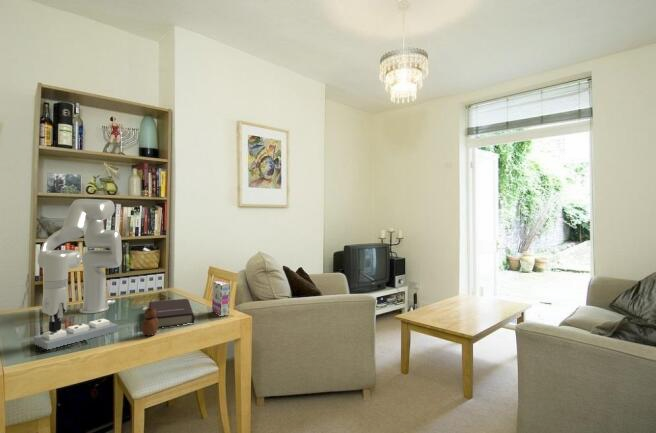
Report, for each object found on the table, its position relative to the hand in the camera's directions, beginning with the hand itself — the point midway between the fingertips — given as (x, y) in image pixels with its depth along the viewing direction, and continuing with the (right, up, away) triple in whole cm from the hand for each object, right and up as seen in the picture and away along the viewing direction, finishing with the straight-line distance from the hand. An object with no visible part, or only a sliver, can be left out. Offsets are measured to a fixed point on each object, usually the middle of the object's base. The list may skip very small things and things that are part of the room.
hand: (54, 330), depth 131 cm
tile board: (+4, -5, +7) cm, 10 cm away
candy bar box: (+51, -6, +44) cm, 68 cm away
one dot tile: (+8, -4, +14) cm, 17 cm away
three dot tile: (0, -4, 0) cm, 4 cm away
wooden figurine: (+31, -6, +12) cm, 34 cm away
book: (+29, -6, +35) cm, 46 cm away
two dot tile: (+4, -4, +7) cm, 9 cm away
